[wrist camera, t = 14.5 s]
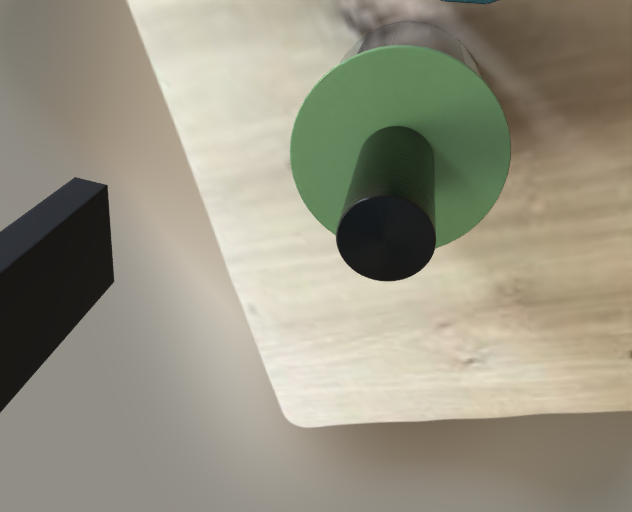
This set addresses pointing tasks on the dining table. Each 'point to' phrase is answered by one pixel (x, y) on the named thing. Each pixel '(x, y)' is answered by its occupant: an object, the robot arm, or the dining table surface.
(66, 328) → the robot arm
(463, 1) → the blue faceted pot
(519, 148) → the dining table surface
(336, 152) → the lid
